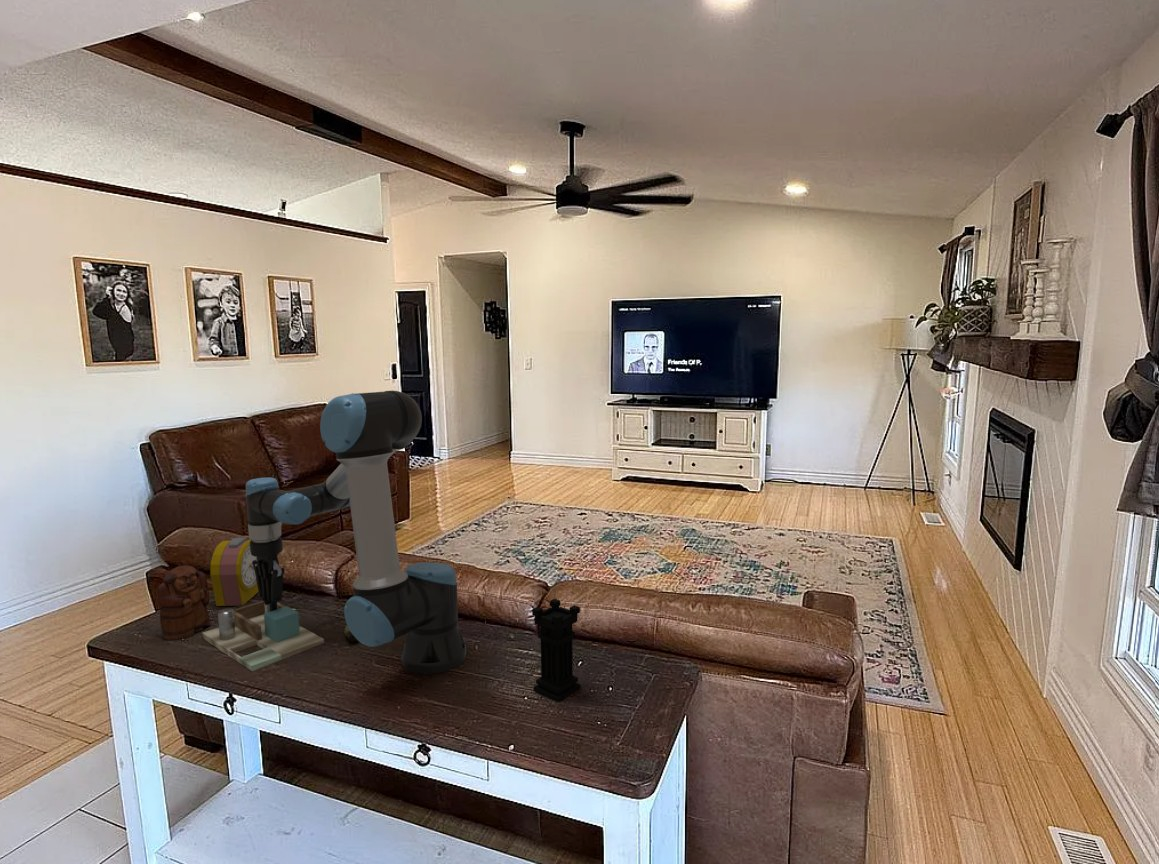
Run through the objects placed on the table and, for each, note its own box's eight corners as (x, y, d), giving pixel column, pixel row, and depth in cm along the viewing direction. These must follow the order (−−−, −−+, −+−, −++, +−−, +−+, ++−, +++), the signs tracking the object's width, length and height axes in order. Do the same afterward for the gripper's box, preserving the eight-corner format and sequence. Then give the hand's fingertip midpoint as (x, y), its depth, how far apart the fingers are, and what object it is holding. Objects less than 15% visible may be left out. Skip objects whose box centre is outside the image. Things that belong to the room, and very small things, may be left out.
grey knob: (238, 636, 168) (235, 610, 167) (223, 641, 165) (221, 615, 164) (231, 632, 170) (229, 607, 169) (217, 637, 168) (214, 611, 167)
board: (324, 644, 167) (323, 638, 167) (252, 672, 153) (251, 666, 153) (271, 615, 185) (271, 610, 184) (202, 638, 171) (202, 632, 171)
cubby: (299, 625, 174) (299, 613, 174) (258, 640, 166) (257, 627, 165) (271, 610, 184) (270, 598, 184) (230, 623, 176) (229, 611, 175)
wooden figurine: (177, 643, 168) (170, 575, 166) (159, 639, 170) (152, 572, 168) (216, 624, 179) (211, 560, 176) (199, 621, 181) (193, 558, 179)
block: (299, 634, 169) (298, 612, 168) (276, 642, 165) (275, 620, 164) (288, 627, 173) (286, 606, 172) (265, 635, 169) (263, 613, 168)
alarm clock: (242, 607, 190) (237, 546, 187) (213, 608, 190) (207, 547, 187) (264, 588, 205) (260, 531, 202) (237, 588, 204) (232, 531, 202)
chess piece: (555, 682, 148) (554, 597, 145) (583, 694, 143) (582, 606, 140) (530, 697, 142) (529, 609, 139) (558, 710, 137) (557, 619, 134)
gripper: (292, 539, 168) (298, 627, 171) (268, 530, 176) (274, 614, 179) (263, 546, 162) (270, 637, 165) (239, 536, 170) (246, 623, 173)
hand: (272, 625), depth 172 cm, fingers closed
